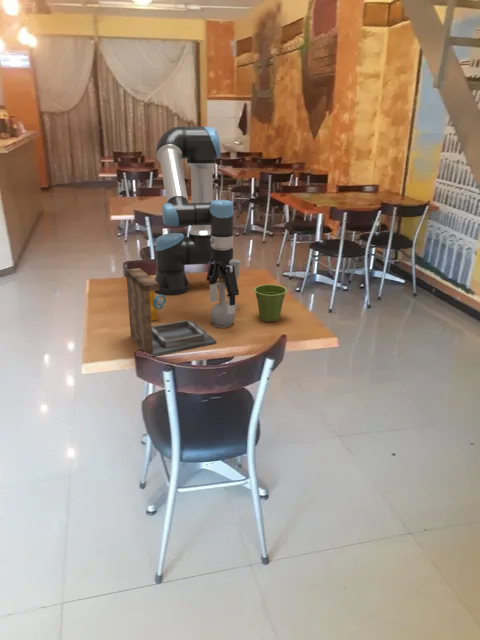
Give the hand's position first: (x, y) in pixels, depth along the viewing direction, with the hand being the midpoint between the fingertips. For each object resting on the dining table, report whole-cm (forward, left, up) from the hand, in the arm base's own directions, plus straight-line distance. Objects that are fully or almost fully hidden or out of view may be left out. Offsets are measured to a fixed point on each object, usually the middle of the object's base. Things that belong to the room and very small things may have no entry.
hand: (222, 307), depth 176 cm
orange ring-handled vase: (-16, -21, -7) cm, 27 cm away
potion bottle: (0, 0, -7) cm, 7 cm away
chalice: (-14, +11, -7) cm, 19 cm away
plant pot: (+3, +18, -7) cm, 19 cm away
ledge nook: (+5, -20, -6) cm, 22 cm away
